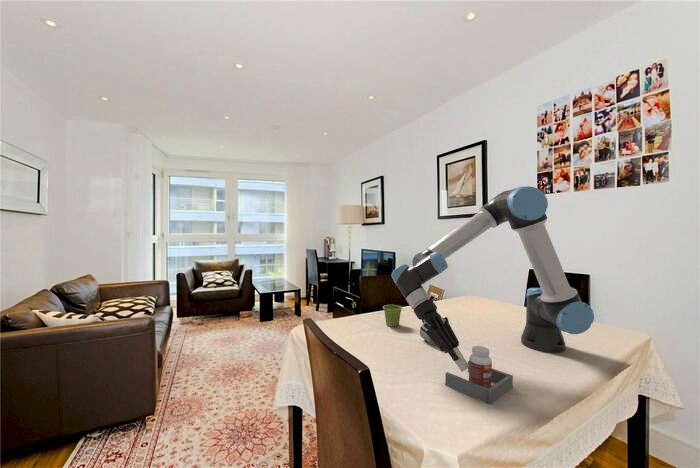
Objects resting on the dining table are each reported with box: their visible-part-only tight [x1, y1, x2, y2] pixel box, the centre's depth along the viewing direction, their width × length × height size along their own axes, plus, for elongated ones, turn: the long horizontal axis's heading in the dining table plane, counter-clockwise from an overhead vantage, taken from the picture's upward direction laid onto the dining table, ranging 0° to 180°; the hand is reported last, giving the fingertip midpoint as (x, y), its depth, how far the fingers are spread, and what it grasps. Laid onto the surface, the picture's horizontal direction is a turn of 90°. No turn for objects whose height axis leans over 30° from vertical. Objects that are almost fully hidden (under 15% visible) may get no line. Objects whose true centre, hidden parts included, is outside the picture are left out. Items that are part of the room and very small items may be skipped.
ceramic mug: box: [419, 323, 437, 346], centre depth 127 cm, size 11×8×8 cm
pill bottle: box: [468, 345, 493, 389], centre depth 92 cm, size 6×6×11 cm
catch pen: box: [444, 360, 514, 405], centre depth 91 cm, size 14×14×4 cm
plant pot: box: [382, 304, 403, 327], centre depth 149 cm, size 9×9×9 cm
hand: (465, 369), depth 95 cm, fingers closed
